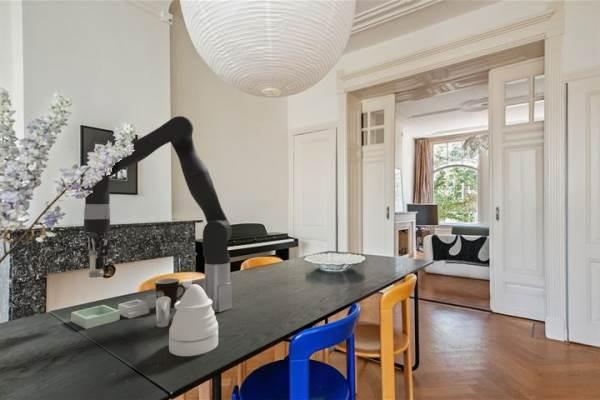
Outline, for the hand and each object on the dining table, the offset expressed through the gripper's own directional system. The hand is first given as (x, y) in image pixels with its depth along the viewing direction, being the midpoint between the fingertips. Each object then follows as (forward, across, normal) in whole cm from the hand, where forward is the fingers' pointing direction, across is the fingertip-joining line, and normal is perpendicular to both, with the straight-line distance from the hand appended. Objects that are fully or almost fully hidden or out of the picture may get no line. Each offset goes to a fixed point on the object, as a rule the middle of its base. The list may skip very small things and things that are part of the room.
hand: (96, 268), depth 106 cm
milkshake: (+18, -23, -10) cm, 31 cm away
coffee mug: (+18, -8, -22) cm, 29 cm away
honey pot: (+18, -44, -7) cm, 48 cm away
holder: (+18, -3, -11) cm, 21 cm away
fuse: (+3, 0, 0) cm, 3 cm away
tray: (+18, 0, 0) cm, 18 cm away
